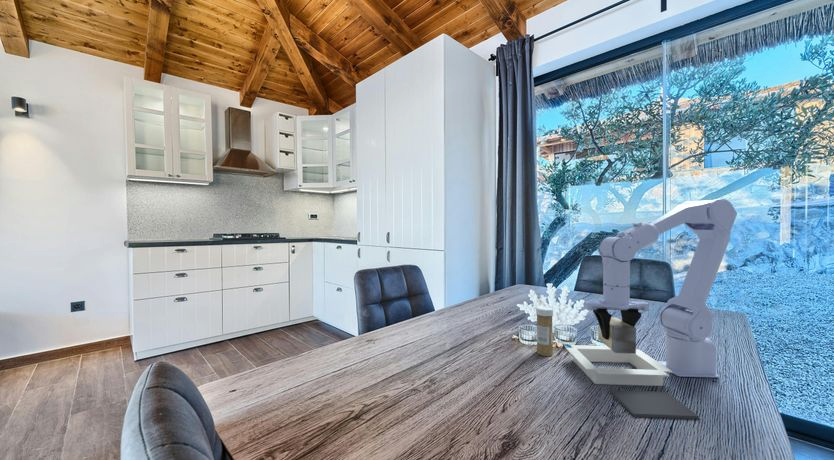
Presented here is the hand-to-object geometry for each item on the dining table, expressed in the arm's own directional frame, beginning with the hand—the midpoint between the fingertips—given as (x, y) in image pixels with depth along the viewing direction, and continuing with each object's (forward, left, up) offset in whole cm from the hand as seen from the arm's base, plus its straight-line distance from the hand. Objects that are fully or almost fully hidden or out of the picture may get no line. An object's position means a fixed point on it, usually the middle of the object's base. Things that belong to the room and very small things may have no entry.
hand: (615, 338), depth 82 cm
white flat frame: (0, -1, -9) cm, 9 cm away
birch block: (0, 0, -2) cm, 2 cm away
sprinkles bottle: (+14, -12, -9) cm, 20 cm away
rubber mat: (0, +14, -9) cm, 17 cm away
